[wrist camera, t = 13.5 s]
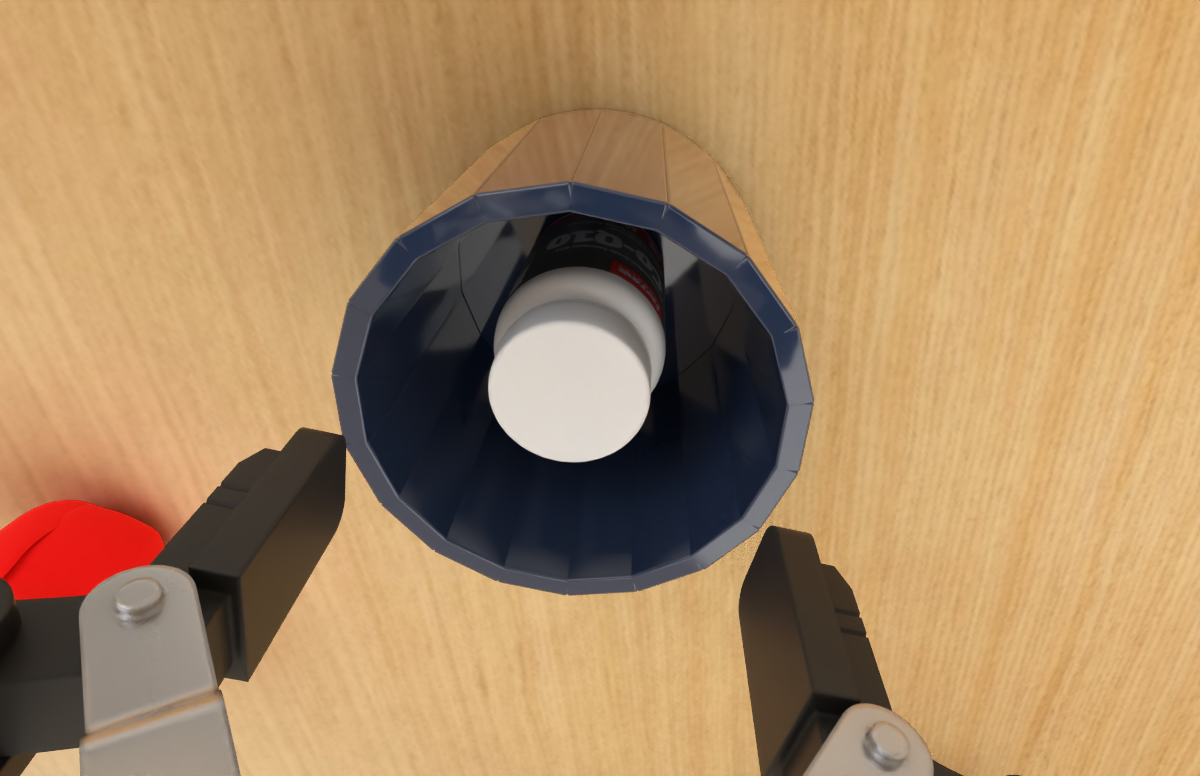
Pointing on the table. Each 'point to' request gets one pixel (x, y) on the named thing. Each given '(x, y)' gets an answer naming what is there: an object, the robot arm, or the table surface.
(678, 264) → the pot
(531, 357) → the pill bottle
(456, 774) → the table surface
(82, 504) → the flower
